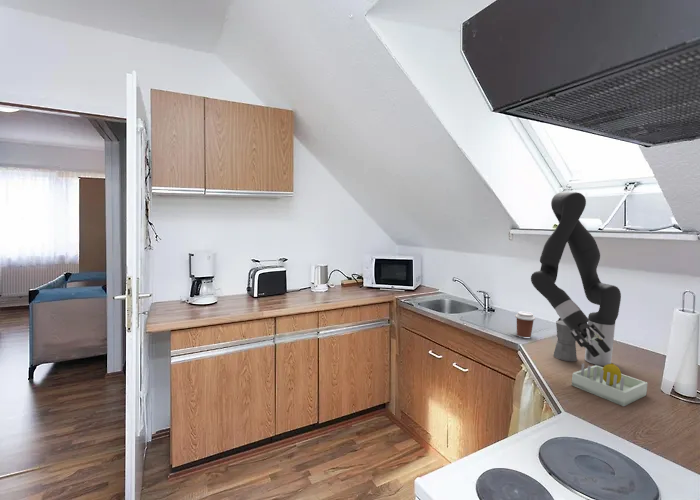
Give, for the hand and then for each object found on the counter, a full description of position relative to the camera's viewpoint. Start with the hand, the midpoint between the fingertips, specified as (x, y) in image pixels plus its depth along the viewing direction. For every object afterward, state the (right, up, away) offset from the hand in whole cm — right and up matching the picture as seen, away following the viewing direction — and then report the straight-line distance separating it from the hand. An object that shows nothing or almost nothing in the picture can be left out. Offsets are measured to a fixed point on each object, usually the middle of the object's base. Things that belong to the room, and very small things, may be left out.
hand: (602, 353), depth 126 cm
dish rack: (0, -12, -3) cm, 12 cm away
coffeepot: (+3, -10, +28) cm, 29 cm away
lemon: (+1, -11, -2) cm, 11 cm away
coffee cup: (-2, -7, +54) cm, 54 cm away
